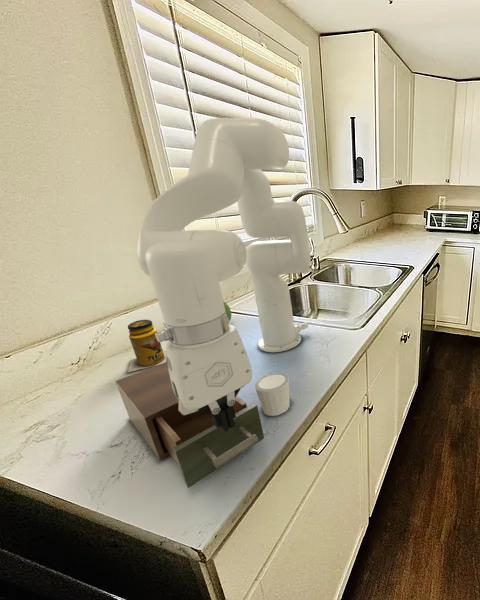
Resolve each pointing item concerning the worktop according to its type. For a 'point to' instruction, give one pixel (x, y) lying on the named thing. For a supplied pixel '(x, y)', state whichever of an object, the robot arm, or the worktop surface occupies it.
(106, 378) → the worktop surface
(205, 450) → the drawer
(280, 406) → the white candle jar
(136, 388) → the cabinet
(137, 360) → the condiment
